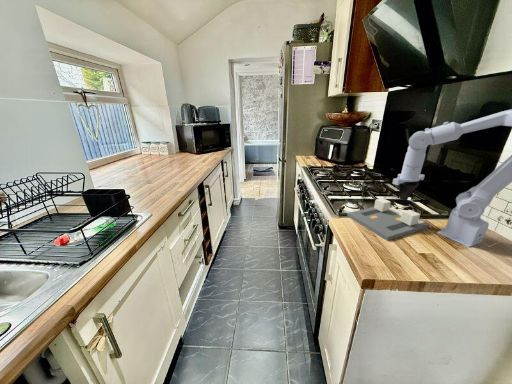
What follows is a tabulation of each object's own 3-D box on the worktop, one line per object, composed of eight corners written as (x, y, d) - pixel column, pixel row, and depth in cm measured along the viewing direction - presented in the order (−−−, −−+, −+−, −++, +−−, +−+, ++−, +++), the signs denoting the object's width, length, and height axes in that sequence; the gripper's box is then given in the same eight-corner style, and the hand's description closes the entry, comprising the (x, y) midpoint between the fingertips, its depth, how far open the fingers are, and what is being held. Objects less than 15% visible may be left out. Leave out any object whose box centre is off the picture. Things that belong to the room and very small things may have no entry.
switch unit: (428, 227, 82) (430, 223, 81) (386, 240, 74) (388, 236, 74) (384, 207, 98) (385, 203, 97) (347, 216, 91) (347, 212, 90)
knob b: (388, 210, 91) (390, 201, 89) (381, 211, 90) (383, 203, 88) (380, 206, 94) (382, 198, 93) (373, 208, 93) (375, 199, 92)
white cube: (417, 223, 81) (420, 214, 79) (410, 225, 79) (412, 216, 78) (407, 218, 84) (409, 209, 82) (399, 220, 83) (402, 211, 81)
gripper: (414, 160, 84) (405, 192, 89) (388, 165, 79) (380, 198, 84) (434, 165, 78) (423, 199, 83) (407, 170, 73) (397, 205, 78)
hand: (403, 199), depth 83 cm, fingers closed
